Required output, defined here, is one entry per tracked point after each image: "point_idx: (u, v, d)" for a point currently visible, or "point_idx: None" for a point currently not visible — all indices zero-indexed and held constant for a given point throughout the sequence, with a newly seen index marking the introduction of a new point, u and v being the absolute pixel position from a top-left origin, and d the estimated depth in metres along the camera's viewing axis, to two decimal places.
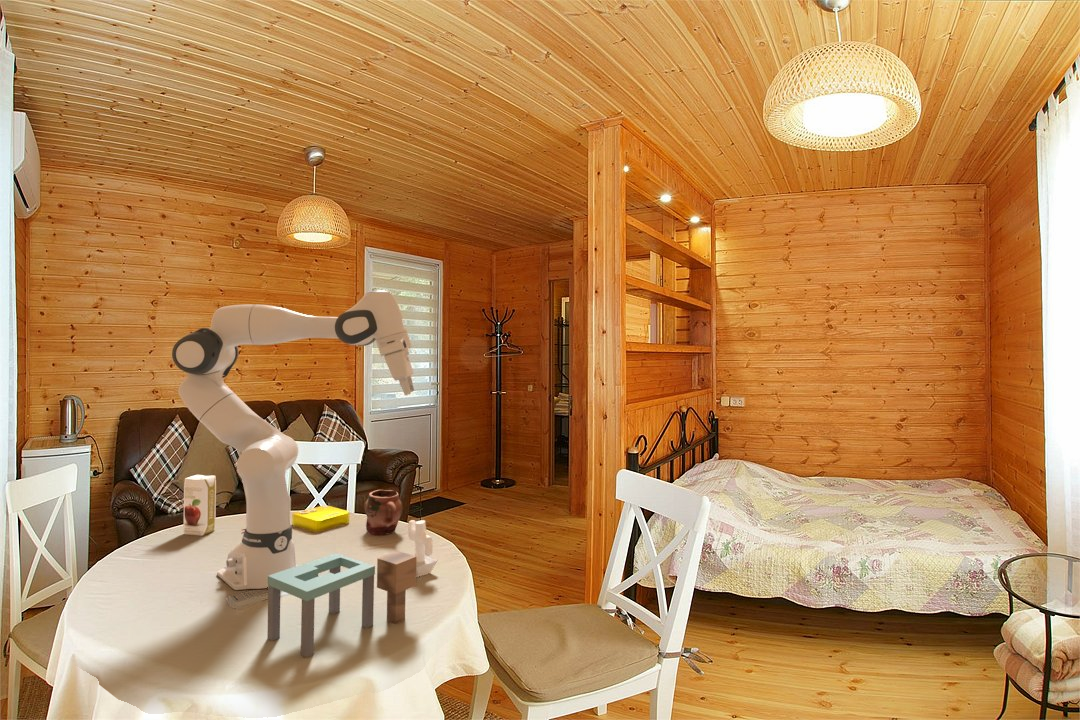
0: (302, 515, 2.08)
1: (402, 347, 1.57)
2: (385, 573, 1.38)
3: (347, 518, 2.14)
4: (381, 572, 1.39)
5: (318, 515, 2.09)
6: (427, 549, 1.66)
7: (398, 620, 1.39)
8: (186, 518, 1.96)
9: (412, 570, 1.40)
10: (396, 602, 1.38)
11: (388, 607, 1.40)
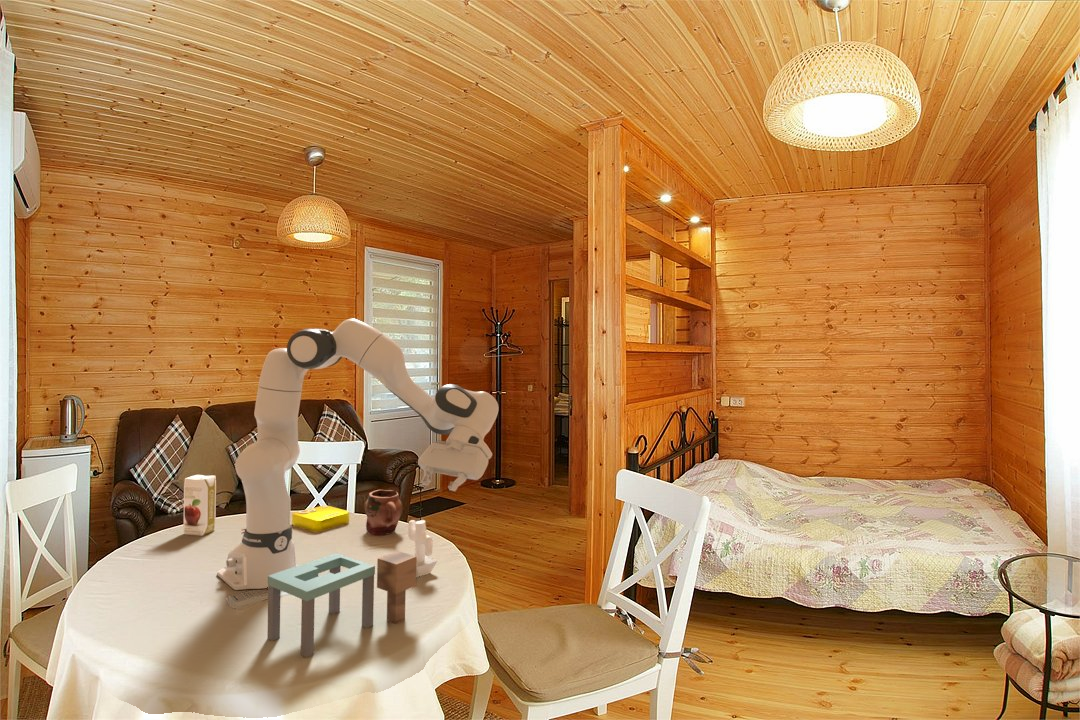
0: (302, 515, 2.08)
1: (490, 457, 1.55)
2: (385, 573, 1.38)
3: (347, 518, 2.14)
4: (381, 572, 1.39)
5: (318, 515, 2.09)
6: (427, 549, 1.66)
7: (398, 620, 1.39)
8: (186, 518, 1.96)
9: (412, 570, 1.40)
10: (396, 602, 1.38)
11: (388, 607, 1.40)
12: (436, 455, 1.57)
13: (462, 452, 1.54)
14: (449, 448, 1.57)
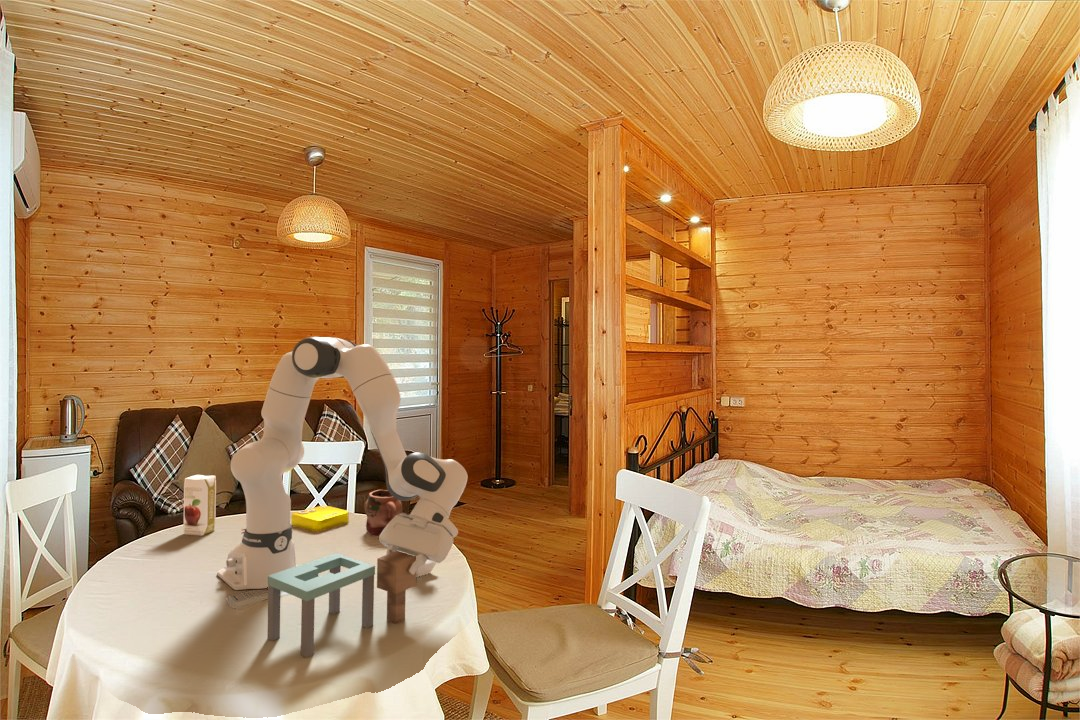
0: (302, 515, 2.08)
1: (455, 535, 1.45)
2: (385, 573, 1.38)
3: (347, 518, 2.14)
4: (381, 572, 1.39)
5: (318, 515, 2.09)
6: None
7: (398, 620, 1.39)
8: (186, 518, 1.96)
9: None
10: (396, 602, 1.38)
11: (388, 607, 1.40)
12: (398, 532, 1.47)
13: (425, 530, 1.44)
14: (412, 524, 1.46)
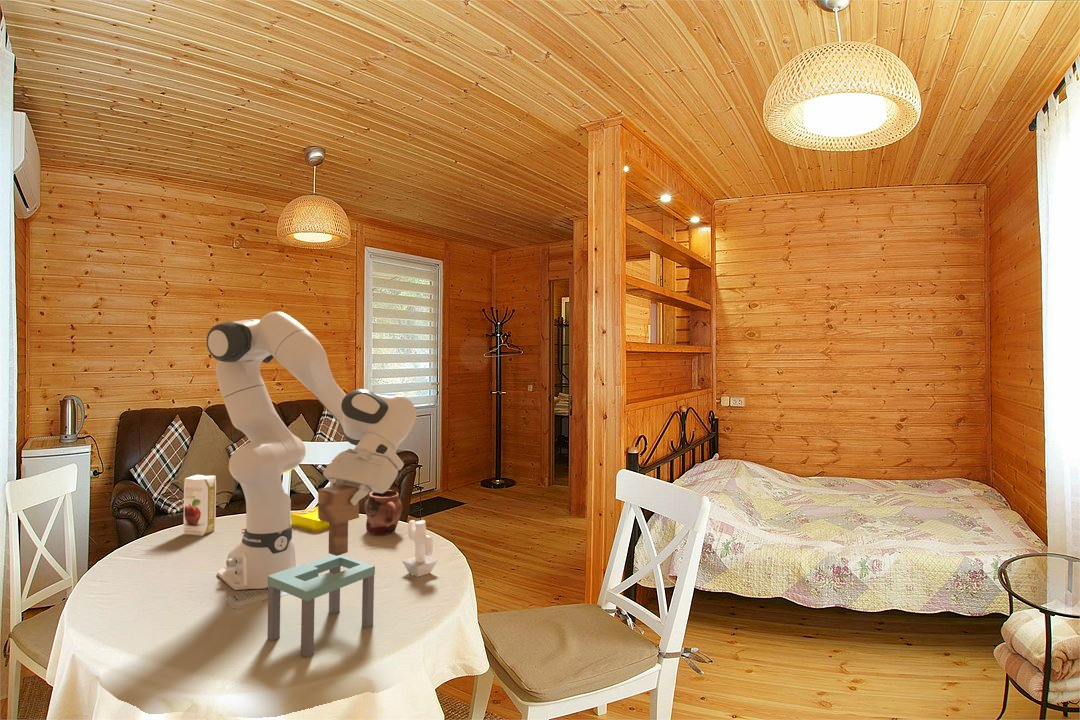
0: (301, 515, 2.08)
1: (400, 468, 1.41)
2: (325, 504, 1.34)
3: None
4: (322, 502, 1.35)
5: None
6: (427, 549, 1.66)
7: (340, 552, 1.35)
8: (186, 518, 1.96)
9: None
10: (337, 534, 1.35)
11: (330, 539, 1.36)
12: (342, 466, 1.43)
13: (369, 462, 1.40)
14: (356, 458, 1.42)
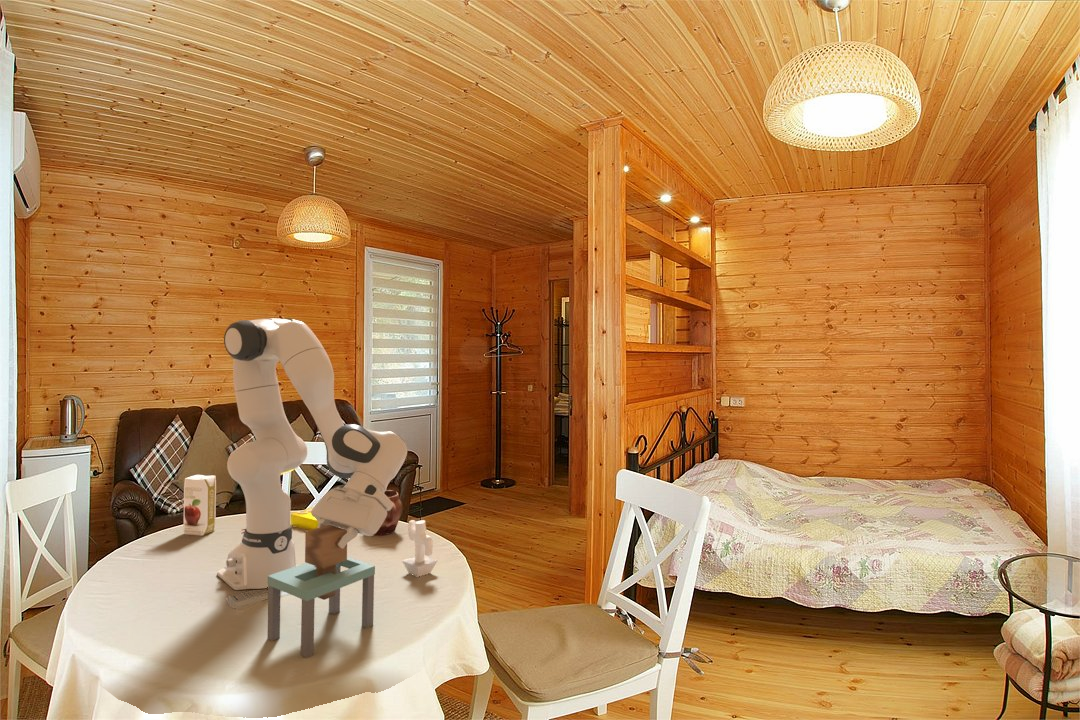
0: (301, 515, 2.08)
1: (390, 509, 1.39)
2: (312, 547, 1.32)
3: None
4: (309, 545, 1.32)
5: None
6: (427, 549, 1.66)
7: (327, 596, 1.33)
8: (186, 518, 1.96)
9: None
10: None
11: None
12: (331, 505, 1.40)
13: (358, 503, 1.37)
14: (345, 498, 1.40)
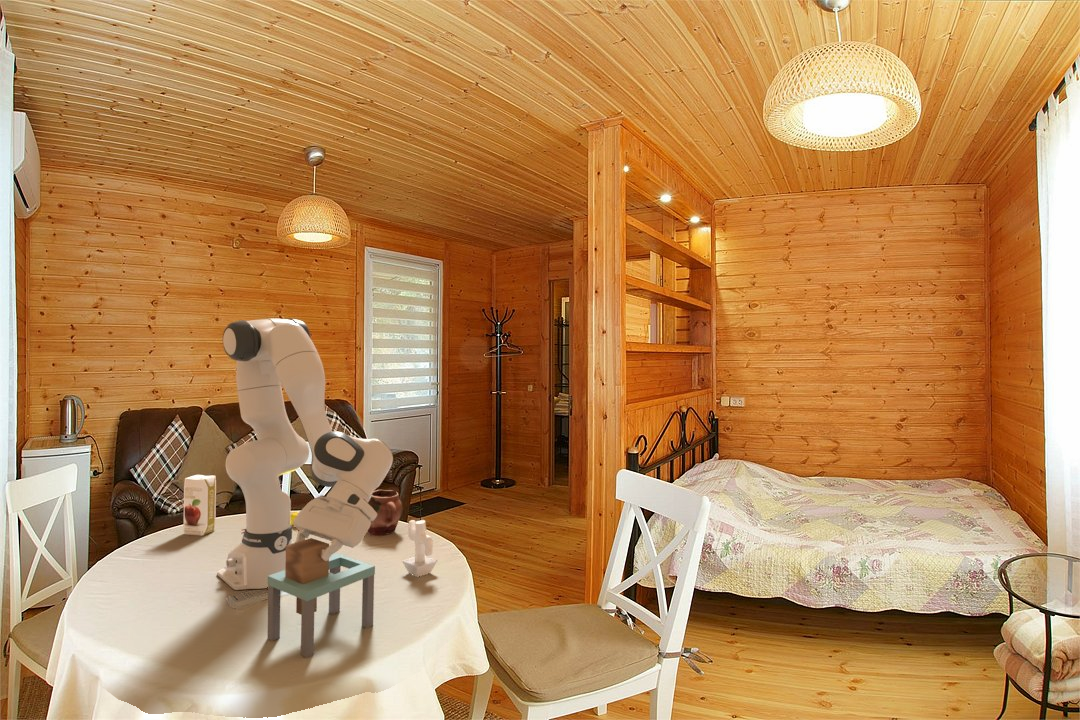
0: None
1: (373, 519, 1.35)
2: (293, 562, 1.28)
3: None
4: (289, 560, 1.28)
5: None
6: (427, 549, 1.66)
7: None
8: (186, 518, 1.96)
9: None
10: None
11: (297, 598, 1.30)
12: (313, 515, 1.36)
13: (340, 513, 1.33)
14: (328, 507, 1.36)
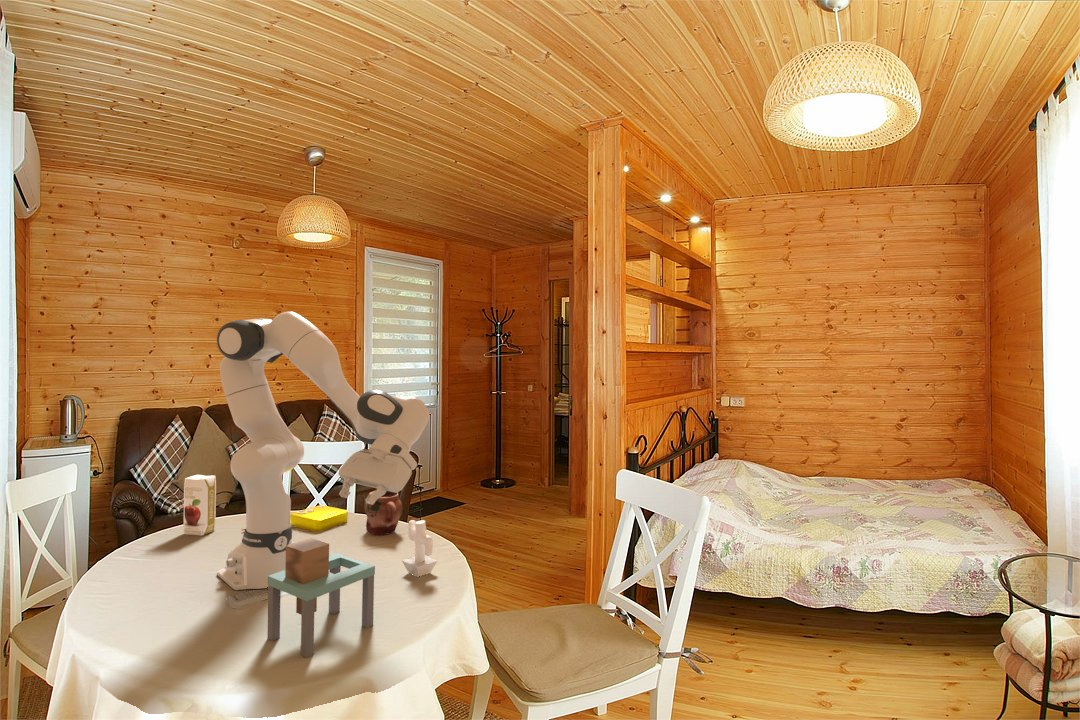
0: (301, 515, 2.08)
1: (414, 468, 1.45)
2: (293, 562, 1.28)
3: (346, 517, 2.15)
4: (289, 560, 1.28)
5: (318, 515, 2.09)
6: (427, 549, 1.66)
7: None
8: (186, 518, 1.96)
9: (323, 558, 1.30)
10: None
11: (297, 598, 1.30)
12: (357, 465, 1.46)
13: (384, 462, 1.44)
14: (371, 458, 1.46)
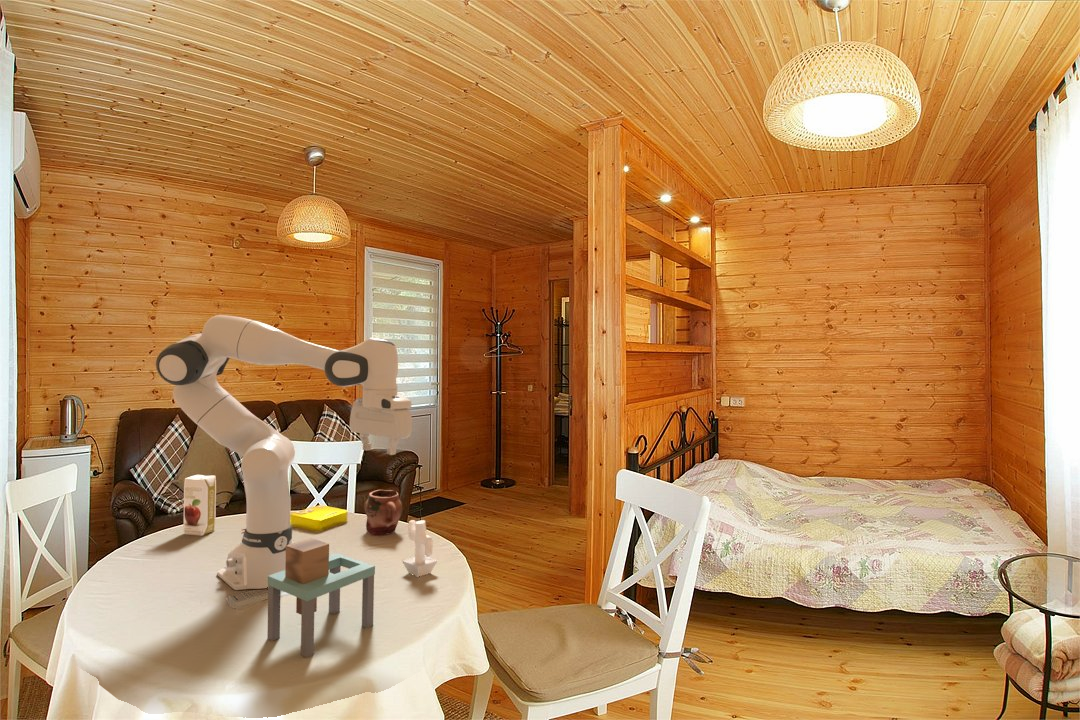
0: (301, 515, 2.08)
1: (410, 406, 1.53)
2: (293, 562, 1.28)
3: (345, 517, 2.15)
4: (289, 560, 1.28)
5: (317, 515, 2.09)
6: (427, 549, 1.66)
7: None
8: (186, 518, 1.96)
9: (323, 558, 1.30)
10: None
11: (297, 598, 1.30)
12: (362, 421, 1.56)
13: (382, 415, 1.52)
14: (369, 412, 1.54)
